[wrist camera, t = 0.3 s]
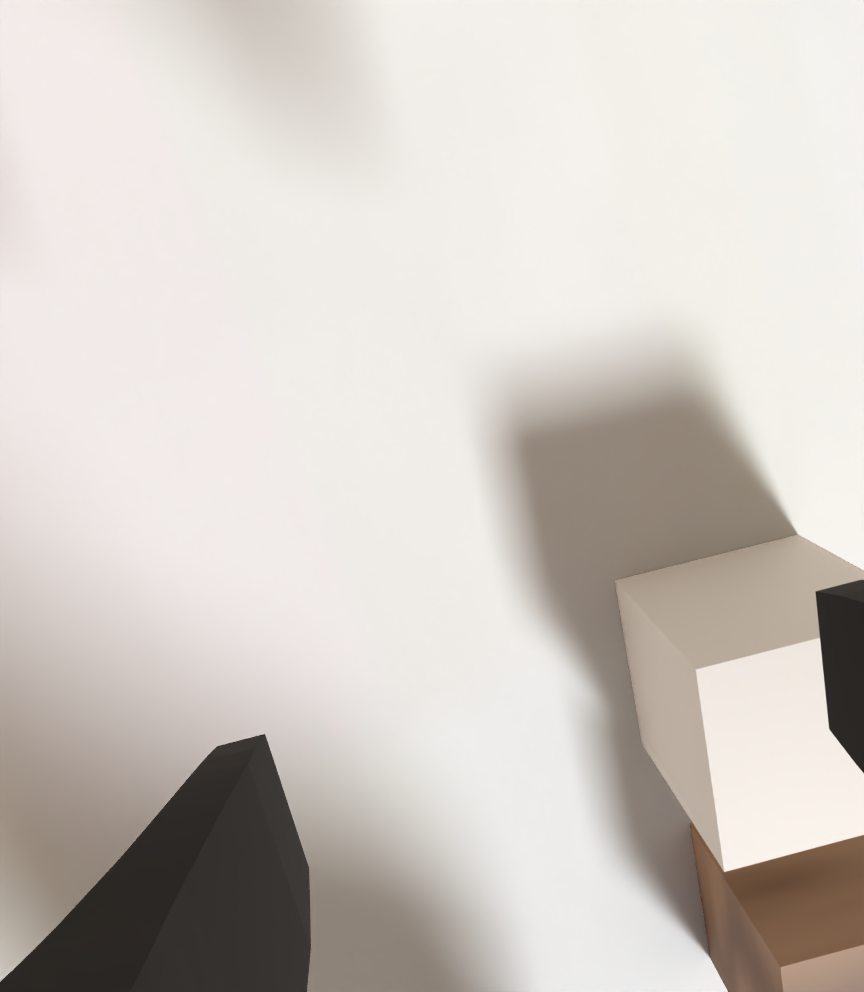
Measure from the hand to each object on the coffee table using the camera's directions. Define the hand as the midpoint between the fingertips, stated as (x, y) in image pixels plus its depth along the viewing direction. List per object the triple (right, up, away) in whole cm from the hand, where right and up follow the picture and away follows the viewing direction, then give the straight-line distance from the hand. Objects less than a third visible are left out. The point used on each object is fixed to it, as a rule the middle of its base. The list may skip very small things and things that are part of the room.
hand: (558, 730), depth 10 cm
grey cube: (+6, -1, +11) cm, 13 cm away
